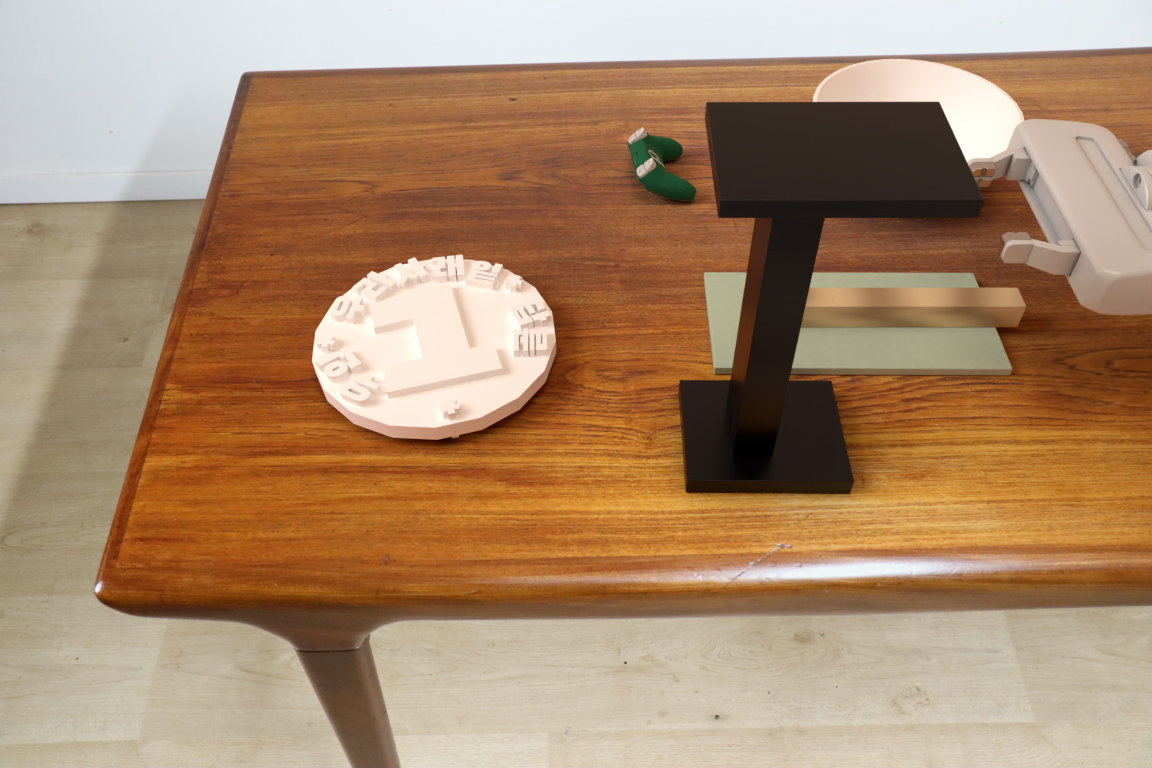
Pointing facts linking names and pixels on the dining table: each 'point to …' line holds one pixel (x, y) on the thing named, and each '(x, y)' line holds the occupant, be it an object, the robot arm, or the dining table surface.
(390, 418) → the giant coin
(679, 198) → the gaming controller
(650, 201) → the dining table surface
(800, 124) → the black pedestal stand
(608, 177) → the dining table surface
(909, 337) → the mat
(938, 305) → the long square wooden dowel
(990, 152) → the bowl
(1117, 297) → the robot arm
